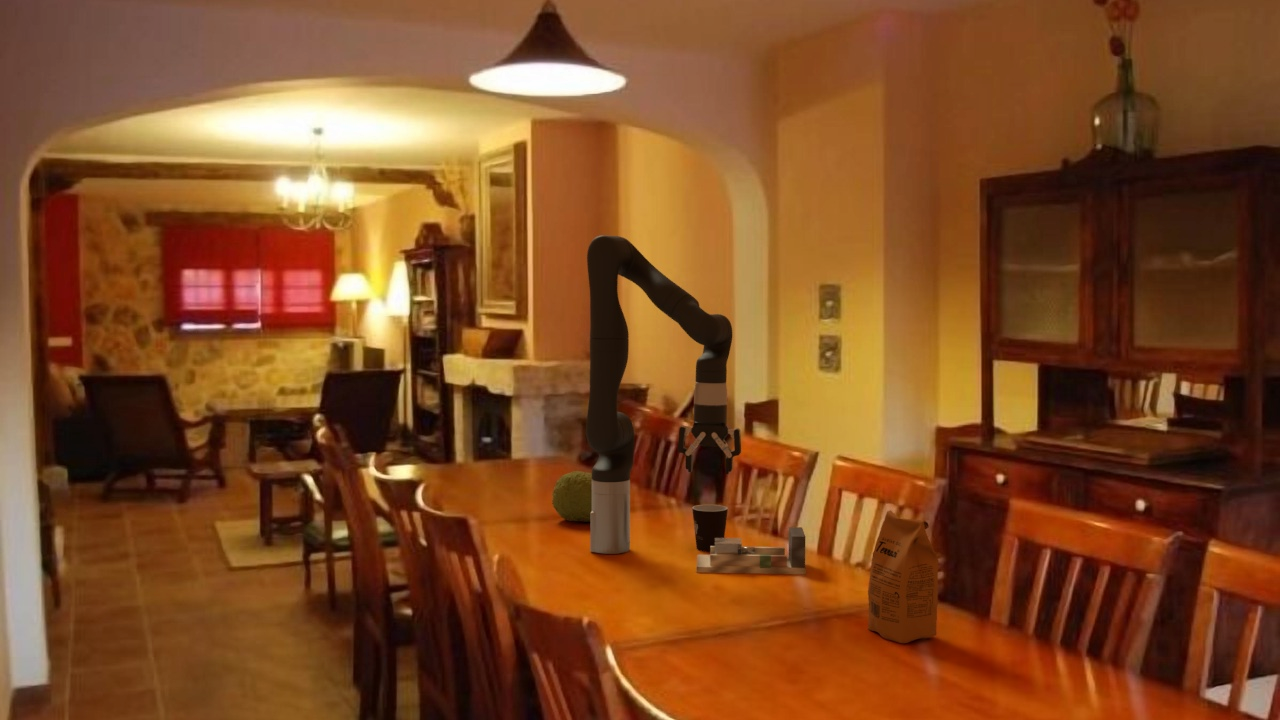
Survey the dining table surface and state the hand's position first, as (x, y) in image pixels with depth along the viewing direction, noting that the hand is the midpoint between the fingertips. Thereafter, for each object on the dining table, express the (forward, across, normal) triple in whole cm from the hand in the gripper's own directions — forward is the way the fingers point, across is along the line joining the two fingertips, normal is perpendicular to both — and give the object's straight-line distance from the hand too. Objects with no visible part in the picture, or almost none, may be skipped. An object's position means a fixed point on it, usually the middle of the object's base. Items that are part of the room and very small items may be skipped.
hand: (708, 472), depth 261 cm
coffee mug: (+21, -1, +16) cm, 27 cm away
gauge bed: (+21, +10, -1) cm, 23 cm away
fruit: (+22, -40, +40) cm, 61 cm away
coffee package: (+20, +42, -46) cm, 66 cm away
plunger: (+19, +7, -3) cm, 21 cm away
